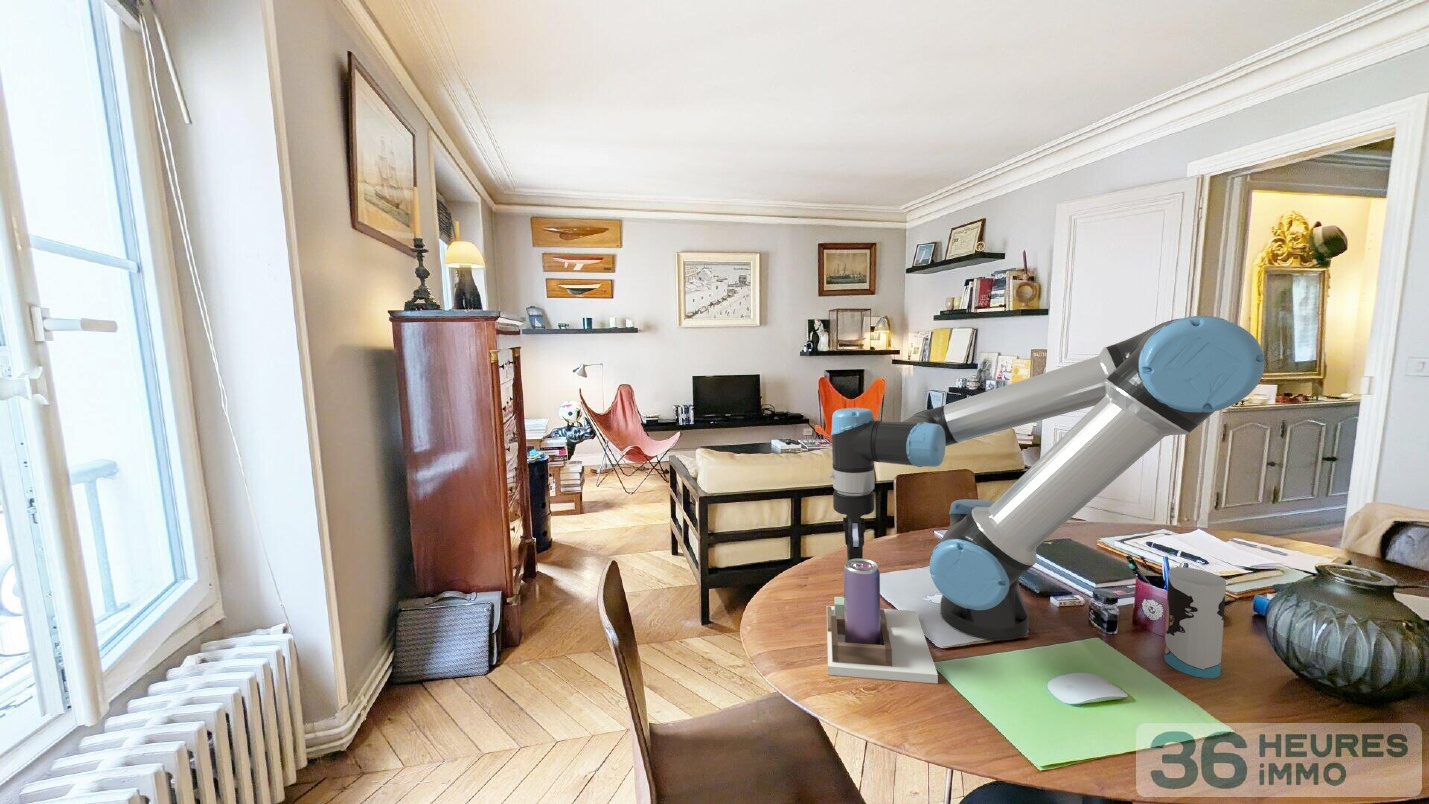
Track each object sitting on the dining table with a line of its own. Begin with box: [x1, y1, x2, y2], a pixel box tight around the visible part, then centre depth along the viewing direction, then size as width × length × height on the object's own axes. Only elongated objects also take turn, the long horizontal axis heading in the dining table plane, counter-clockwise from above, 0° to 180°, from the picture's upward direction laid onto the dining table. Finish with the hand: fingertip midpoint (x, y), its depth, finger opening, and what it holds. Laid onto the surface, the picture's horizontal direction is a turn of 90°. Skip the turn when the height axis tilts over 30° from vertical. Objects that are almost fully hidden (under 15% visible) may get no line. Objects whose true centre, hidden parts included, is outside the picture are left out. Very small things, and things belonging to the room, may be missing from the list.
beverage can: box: [843, 558, 881, 645], centre depth 90 cm, size 6×6×15 cm
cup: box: [1163, 566, 1227, 679], centre depth 83 cm, size 7×7×15 cm
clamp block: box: [833, 596, 844, 616], centre depth 99 cm, size 8×3×4 cm, turn 78°
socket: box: [831, 616, 892, 667], centre depth 91 cm, size 10×10×3 cm
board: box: [826, 605, 939, 684], centre depth 94 cm, size 17×20×2 cm
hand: (855, 608), depth 101 cm, fingers closed
